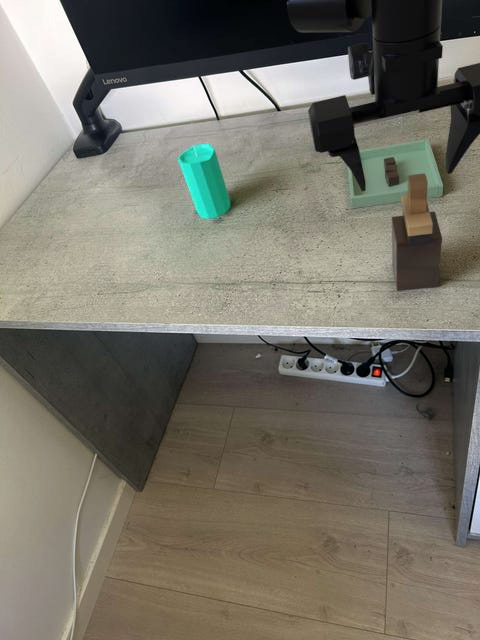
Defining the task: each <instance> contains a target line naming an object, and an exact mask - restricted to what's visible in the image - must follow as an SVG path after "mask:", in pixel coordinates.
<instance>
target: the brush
mask: <svg viewBox="0 0 480 640" xmlns="http://www.w3.org/2000/svg"><path fill="white" fill-rule="evenodd" d="M427 186H428V182H427V178H426V175H425V173H422V174H416V175H409V176H408V195H402V202H401V210H402V216H403V218H404V223H405V228H406V233H407V238H408V243H409V244H412V243H421V242H429V241H431V234H432V231H433V222H432V218H431V215H430V212H431V211H430V208H429V204H428V198H427Z"/></svg>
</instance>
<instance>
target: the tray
mask: <svg viewBox="0 0 480 640" xmlns="http://www.w3.org/2000/svg"><path fill="white" fill-rule="evenodd" d="M359 152H360V157H361V162H362V167H363V172H364V177H365V182H366V190H365V191H363V192H362V191H361V189H360V187H359V185H358V183H357V181H356V179H355V177H354V175H353V173H352V171H351V170H350V168H349V167H348V166H347V165H346V166H347V178H348V188H349V189H348V190H349V199H350V209H351V210H353V209H360V208H367V207H374V206H375V207H376V206H383V205H388V204H396V203H402V195H408V176H409V175H416V174H422V173H425V175H426V178H427V182H428V186H427V199H432V198H440V197H443V195H444V182H443V180H442V176H441V174H440V170H439V168H438V165H437V161H436V158H435V155H434V152H433V148H432V145H431V141H430V139H429V138H426V139H421V140H420V139H419V140H414V141H408V142H402V143H396V144H390V145H384V146H378V147H371V148H366V149H359ZM390 157H394V159H395V161H396V164H397V173H398V175H399V185H395V186H391V187H389V186H388V184H387V182H386V179H385V169H384V159H385V158H390Z"/></svg>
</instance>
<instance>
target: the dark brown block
mask: <svg viewBox="0 0 480 640" xmlns="http://www.w3.org/2000/svg"><path fill="white" fill-rule="evenodd" d="M430 215H431V218H432V222H433V231H432V234H431V241H429V242H421V243H412V244H409V243H408V238H407V233H406V228H405V223H404V218H403V215H397V216H396V215H395V216H391V253H392V254H391V255H392V256H391V265H392V266H391V267H392V273H393V277H394V283H395V289H396V291H397V292H399V291H400V292H401V291H409V290H410V291H411V290H419V289H420V290H421V289H431V288H438V287H439V283H440V269H441V257H442V248H443V247H442V246H443V236H442V231H441V228H440V225H439V222H438V219H437V213H436V211H430Z"/></svg>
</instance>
